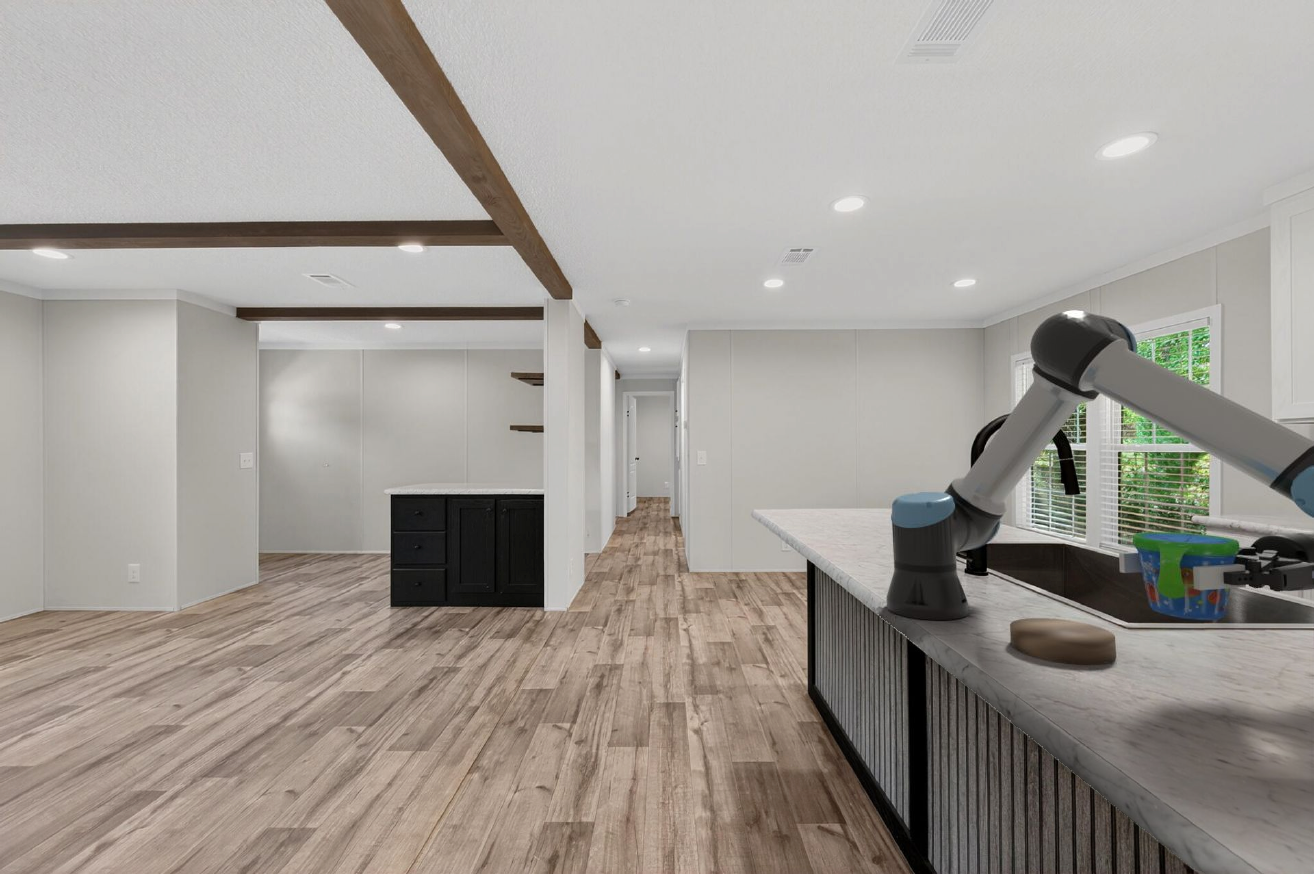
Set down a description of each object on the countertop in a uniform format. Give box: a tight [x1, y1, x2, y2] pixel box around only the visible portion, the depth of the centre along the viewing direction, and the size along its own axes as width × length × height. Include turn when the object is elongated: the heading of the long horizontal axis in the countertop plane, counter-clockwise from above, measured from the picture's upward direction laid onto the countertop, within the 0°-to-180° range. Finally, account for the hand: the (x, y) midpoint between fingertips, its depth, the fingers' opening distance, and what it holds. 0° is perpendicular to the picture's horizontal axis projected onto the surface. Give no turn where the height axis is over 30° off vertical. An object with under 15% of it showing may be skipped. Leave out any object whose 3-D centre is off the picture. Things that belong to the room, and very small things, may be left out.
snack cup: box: [1132, 531, 1240, 621], centre depth 79 cm, size 16×10×10 cm
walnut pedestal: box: [1009, 617, 1117, 666], centre depth 96 cm, size 14×14×3 cm
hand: (1156, 570), depth 78 cm, fingers closed on snack cup, 9 cm apart
